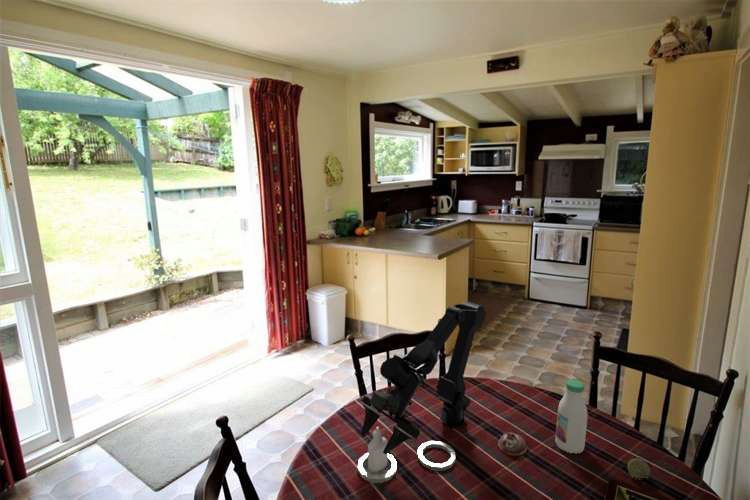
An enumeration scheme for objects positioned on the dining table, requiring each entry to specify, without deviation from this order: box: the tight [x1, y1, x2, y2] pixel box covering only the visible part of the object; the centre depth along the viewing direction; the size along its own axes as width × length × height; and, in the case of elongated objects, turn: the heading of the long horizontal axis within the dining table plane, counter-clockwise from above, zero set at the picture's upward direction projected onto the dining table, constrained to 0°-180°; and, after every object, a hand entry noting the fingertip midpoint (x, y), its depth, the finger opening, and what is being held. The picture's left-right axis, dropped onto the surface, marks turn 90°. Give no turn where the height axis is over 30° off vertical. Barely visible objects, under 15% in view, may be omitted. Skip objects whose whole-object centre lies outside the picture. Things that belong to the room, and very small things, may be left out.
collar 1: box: [357, 452, 398, 484], centre depth 109 cm, size 10×10×1 cm
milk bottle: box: [554, 379, 588, 455], centre depth 115 cm, size 8×8×20 cm
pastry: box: [497, 432, 528, 457], centre depth 116 cm, size 8×8×5 cm
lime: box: [627, 457, 651, 480], centre depth 105 cm, size 4×5×5 cm
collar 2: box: [417, 440, 457, 472], centre depth 113 cm, size 10×10×1 cm
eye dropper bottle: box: [367, 426, 389, 473], centre depth 108 cm, size 4×6×12 cm
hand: (373, 444), depth 107 cm, fingers open, 9 cm apart
